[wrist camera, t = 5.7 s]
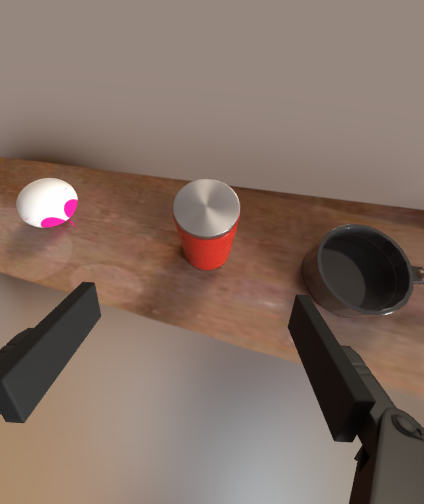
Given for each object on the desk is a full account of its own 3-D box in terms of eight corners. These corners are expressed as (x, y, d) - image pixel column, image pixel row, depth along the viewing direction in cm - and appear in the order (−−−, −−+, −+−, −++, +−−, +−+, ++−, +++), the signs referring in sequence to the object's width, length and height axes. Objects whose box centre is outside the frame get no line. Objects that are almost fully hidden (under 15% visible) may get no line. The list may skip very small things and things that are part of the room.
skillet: (398, 271, 31) (428, 261, 26) (361, 337, 28) (389, 337, 23) (327, 224, 33) (345, 208, 29) (286, 279, 30) (299, 271, 26)
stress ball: (62, 245, 35) (51, 248, 29) (15, 206, 32) (-8, 200, 26) (100, 214, 36) (97, 211, 30) (59, 174, 34) (47, 162, 28)
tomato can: (238, 247, 32) (255, 202, 21) (209, 281, 30) (210, 251, 19) (204, 221, 33) (203, 166, 22) (174, 251, 31) (157, 208, 20)
